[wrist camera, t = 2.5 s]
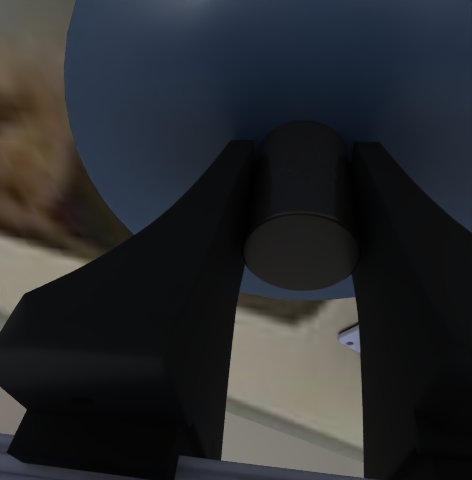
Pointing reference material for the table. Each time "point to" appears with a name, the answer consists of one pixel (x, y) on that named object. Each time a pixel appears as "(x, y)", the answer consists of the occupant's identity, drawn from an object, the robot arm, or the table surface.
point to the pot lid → (273, 115)
